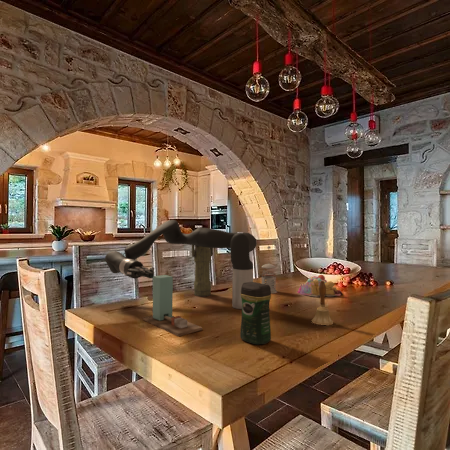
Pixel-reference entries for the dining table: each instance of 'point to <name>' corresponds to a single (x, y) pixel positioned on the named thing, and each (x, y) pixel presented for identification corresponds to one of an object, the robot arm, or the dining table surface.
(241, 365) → the dining table surface
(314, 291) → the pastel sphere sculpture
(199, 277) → the thermos
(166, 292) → the sleeve
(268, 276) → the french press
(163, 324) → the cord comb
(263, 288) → the coffee jar
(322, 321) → the hand bell
